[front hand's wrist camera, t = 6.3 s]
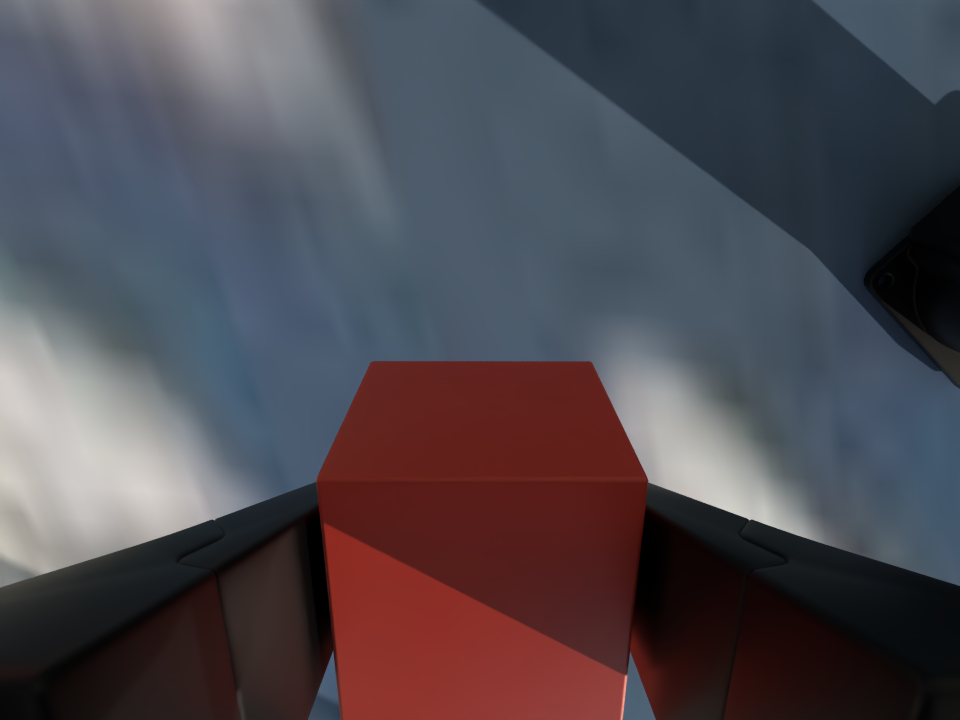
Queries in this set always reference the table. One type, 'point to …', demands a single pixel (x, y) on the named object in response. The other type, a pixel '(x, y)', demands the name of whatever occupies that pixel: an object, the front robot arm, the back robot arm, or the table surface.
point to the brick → (481, 543)
